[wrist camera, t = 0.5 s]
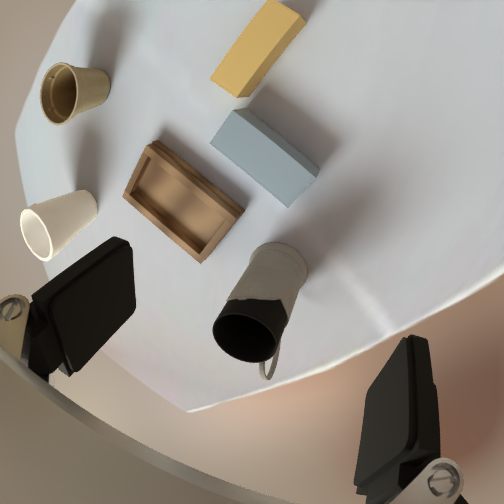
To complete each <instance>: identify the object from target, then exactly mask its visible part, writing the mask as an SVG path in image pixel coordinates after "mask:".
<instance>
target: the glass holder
mask: <svg viewBox="0 0 504 504" xmlns="http://www.w3.org/2000/svg"><path fill="white" fill-rule="evenodd" d="M306 278H307V266H306V263H305V261H304V259H303V257H302V256H301V255H300V254H299V253H298V252H297V251H296V250H295V249H293V248H292V247H290V246H288V245H285V244H282V243H266V244H264V245H261V246H260V247H258V248H257V249H256V250H255V251H254V252H253V253H252V255H251V258H250V261H249V266H248V267H247V269H246V270H245V272H244V273H243V275H242V277H241V278H240V280H239V281H238V283H237V285H236V286H235V288H234V289H233V291H232V292H231V294H230V296H229V297H228V299H227V300H226V301H227V303H226V305H225V306H224V308H223V309H222V311H221V313H220V314H219V316H218V317H217V319H216V321H215V322H214V325H213V336H214V339H215V341H216V342H217V344H218V345H219V346H220V347H221V349H222V350H224V351H225V352H226V353H227V354H229V355H230V356H232V357H234V358H236V359H238V360H241V361H245V362H250V363H259V372H260V376H261V378H262V379H263V380H270V379H271V378H272V376H273V374H274V371H275V368H276V365H277V361H278V356H279V350H280V343H281V336H282V334H283V331H284V328H285V327H286V326H287V324H288V321H289V318H290V316H291V313H292V310H293V307H294V304H295V301H296V298H297V295H298V292H299V289H300V288H301V287H302V286H303V284H304V283H305V281H306ZM271 357H273V360H272V364H271V367H270V370H269V373H268V375H267V376H266V374H265V361H267V360H269V359H270V358H271Z"/></svg>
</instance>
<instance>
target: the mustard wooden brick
mask: <svg viewBox="0 0 504 504" xmlns="http://www.w3.org/2000/svg"><path fill="white" fill-rule="evenodd" d="M305 25H306V22H305V21H304V19H303V18H302V17H301V16H300V15H299V14H297V13H296V12H294V11H292V10H291V9H289V8H287V7H286V6H284V5H282V4H281V3H279V2H277V1H275V0H267V2H266V3H265V4H264V5H263V6H262V8H261V9H260V10H259V11H258V13H257V14H256V15H255V17H254V18H253V19H252V20H251V22H250V23H249V24H248V26H247V27H246V28H245V30H244V31H243V32H242V34H241V35H240V36H239V38H238V39H237V40H236V42H235V43H234V44H233V46H232V47H231V49H230V50H229V51H228V53H227V54H226V56H225V57H224V58H223V60H222V61H221V63H220V64H219V66H218V67H217V69H216V70H215V72H214V73H213V75H212V76H211V78H210V80H211V81H213V82H214V83H216V84H217V85H219V86H220V87H222V88H223V89H225V90H226V91H227V92H229V93H230V94H232V95H233V96H234V97H236V98H240V97H249V96H250V94H251V93H252V92H253V90H254V89H255V87H256V86H257V85H258V83H259V82H260V81H261V79H262V78H263V77H264V76H265V74H266V73H267V72H268V70H269V69H270V68H271V66H272V65H273V64H274V63H275V61H276V60H277V59H278V57H279V56H280V55H281V54H282V52H283V51H284V50H285V49H286V47H287V46H288V45H289V44H290V43H291V41H292V40H293V39H294V38H295V36H296V35H297V34H298V33H299V32H300V30H301V29H302V28H303V27H304V26H305Z"/></svg>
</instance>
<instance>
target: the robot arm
mask: <svg viewBox="0 0 504 504" xmlns="http://www.w3.org/2000/svg"><path fill="white" fill-rule="evenodd" d="M32 300H33V302H31V303H29V301H28V299H27V298H26V297H25V296H22V295H16V294H15V295H9V296H7V297H4V298H3V299H1V300H0V504H298V503H294V502H291V501H287V500H283V499H279V498H276V497H272V496H269V495H265V494H262V493H259V492H256V491H252V490H250V489H246V488H244V487H241V486H238V485H235V484H232V483H229V482H226V481H224V480H221V479H219V478H216V477H213V476H211V475H208V474H206V473H204V472H201V471H199V470H196V469H194V468H192V467H189V466H187V465H185V464H183V463H180V462H178V461H176V460H174V459H171V458H170V457H167V456H165V455H163V454H161V453H159V452H157V451H155V450H153V449H151V448H149V447H148V446H146V445H144V444H142V443H140V442H138V441H136V440H134V439H133V438H131V437H129V436H127V435H125V434H124V433H122V432H120V431H118V430H117V429H115V428H113V427H112V426H110V425H109V424H107V423H105V422H104V421H102V420H100V419H99V418H97V417H95V416H94V415H92V414H91V413H89V412H88V411H86V410H85V409H83V408H82V407H80V406H79V405H77V404H76V403H74V402H73V401H71V400H70V399H69V398H67V397H66V396H65V395H63V394H62V393H60V392H59V391H58V390H56V389H55V388H54V371H55V370H56V369H57V368H59V370H60V371H61V372H63V373H64V374H66V375H67V376H68V377H70V376H71V375H72V374H73V373H74V372H78V371H79V370H81V369H82V367H83V366H84V365H85V364H86V363H87V362H88V361H89V360H90V359H91V358H92V357H93V355H94V354H95V353H96V352H97V351H98V350H99V349H100V348H101V347H102V346H103V345H104V344H105V343H106V342H107V341H108V340H109V338H110V337H111V336H112V335H113V334H114V333H115V332H116V331H117V330H118V329H119V328H120V327H121V326H122V325H123V324H124V323H125V322H126V321H127V320H128V319H129V317H130V316H131V315H132V314H133V313H134V311H135V309H136V297H135V284H134V268H133V250H132V247H130V244H129V242H128V241H126V240H124V239H121V238H118V237H114V236H113V237H111V238H110V239H108V240H107V241H105V242H104V243H102V244H101V245H99V246H98V247H97V248H95V249H94V250H92V251H91V252H89V253H88V254H86V255H85V256H84V257H82V258H81V259H79V260H78V261H77V262H75V263H74V264H72V265H71V266H70V267H68V268H67V269H66V270H64V271H63V272H61V273H60V274H59V275H57V276H56V277H55V278H53V279H52V280H51V281H49V282H48V283H47V284H45V285H44V286H43V287H42V288H40V289H39V290H38V291H36V292H35V293H34V294H33V295H32ZM439 426H440V425H439V410H438V397H437V389H436V385H435V384H434V383H433V376H432V368H431V359H430V352H429V345H428V340H427V339H426V338H422V337H419V336H415V335H409V336H408V338H405V337H403V338H402V340H401V341H400V343H399V344H398V346H397V347H396V349H395V351H394V352H393V354H392V355H391V357H390V358H389V360H388V361H387V363H386V364H385V366H384V367H383V369H382V370H381V372H380V373H379V375H378V376H377V378H376V379H375V380H374V382H373V383H372V385H371V386H370V388H369V389H368V392H367V394H366V400H365V409H364V417H363V425H362V433H361V441H360V447H359V454H358V459H357V465H356V471H355V476H354V485H355V486H357V491H356V494H360V495H366V496H367V498H366V504H468V503H467V501H466V500H465V499H464V498H463V497H462V495H461V494H460V493H461V492H462V490H463V485H464V477H463V473H462V471H461V469H460V467H459V466H458V465H457V464H456V463H455V462H454V461H452V460H450V459H447V458H440V427H439Z"/></svg>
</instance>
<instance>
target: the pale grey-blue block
mask: <svg viewBox="0 0 504 504" xmlns="http://www.w3.org/2000/svg"><path fill="white" fill-rule="evenodd" d="M210 144H211V145H212V146H213V147H215V148H216V149H217V150H219V151H220V152H221V153H222V154H224V155H225V156H226V157H227V158H229V159H230V160H231V161H232V162H233V163H235V164H236V165H237V166H238V167H240V168H241V169H242V170H243V171H244V172H246V173H247V174H248V175H249V176H251V177H252V178H253V179H254V180H255V181H257V182H258V183H259V184H260V185H261V186H263V187H264V188H265V189H266V190H267V191H269V192H270V193H271V194H272V195H273V196H274V197H276V198H277V199H278V200H279V201H280V202H282V203H283V204H284V205H285V206H286V207H287V208H288V207H289V206H290V205H291V204H292V203H293V202H294V201H295V200H296V199H297V198H298V197H299V195H300V194H301V193H302V192H303V191H304V190H305V189H306V188H307V187H308V186H309V185H310V184H311V182H312V181H313V180H314V179H315V178H316V176H317V174H318V172H319V170H320V169H319V168H318V167H317V166H316V165H315V164H314V163H313V162H311V161H310V160H309V159H308V158H307V157H306V156H304V155H303V154H302V153H301V152H300V151H298V150H297V149H296V148H295V147H294V146H292V145H291V144H290V143H289V142H288V141H286V140H285V139H284V138H283V137H282V136H280V135H279V134H278V133H277V132H275V131H274V130H273V129H272V128H270V127H269V126H268V125H267V124H265V123H264V122H263V121H261V120H260V119H259V118H258V117H256V116H255V115H254V114H252V113H251V112H250V111H248V110H247V109H246V108H242V109H237V110H232V112H231V113H230V115H229V116H228V117H227V119H226V120H225V122H224V123H223V125H222V126H221V127H220V129H219V130H218V132H217V133H216V135H215V136H214V138H213V139H212V141H211V142H210Z"/></svg>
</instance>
